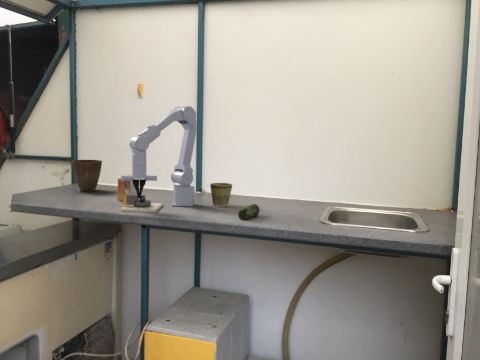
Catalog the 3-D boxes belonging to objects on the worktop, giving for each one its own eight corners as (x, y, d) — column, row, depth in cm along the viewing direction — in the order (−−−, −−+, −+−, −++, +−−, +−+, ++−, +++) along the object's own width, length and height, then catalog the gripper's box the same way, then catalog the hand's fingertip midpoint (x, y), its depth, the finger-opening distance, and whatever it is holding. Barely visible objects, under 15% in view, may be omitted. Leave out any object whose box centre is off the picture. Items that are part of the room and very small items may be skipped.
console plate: (162, 205, 181) (162, 202, 181) (154, 212, 165) (154, 209, 165) (131, 204, 181) (131, 201, 181) (120, 211, 165) (120, 208, 165)
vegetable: (247, 221, 155) (248, 208, 154) (235, 219, 157) (236, 207, 157) (262, 215, 167) (262, 203, 167) (250, 214, 170) (251, 202, 169)
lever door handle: (151, 204, 177) (151, 194, 176) (150, 207, 170) (150, 196, 170) (123, 204, 175) (124, 194, 174) (122, 207, 168) (122, 196, 167)
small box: (117, 200, 189) (117, 178, 188) (125, 199, 194) (125, 177, 193) (130, 202, 186) (130, 179, 184) (138, 201, 190) (138, 178, 189)
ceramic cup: (228, 208, 180) (229, 186, 178) (207, 206, 181) (207, 184, 180) (235, 203, 192) (235, 182, 191) (214, 202, 194) (215, 181, 193)
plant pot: (91, 193, 207) (91, 162, 205) (66, 191, 210) (65, 160, 208) (107, 189, 221) (107, 160, 219) (83, 188, 225) (83, 159, 223)
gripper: (157, 164, 173) (157, 196, 175) (122, 164, 171) (122, 196, 172) (157, 166, 166) (157, 198, 168) (120, 165, 164) (120, 199, 165)
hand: (139, 197), depth 170 cm, fingers closed
